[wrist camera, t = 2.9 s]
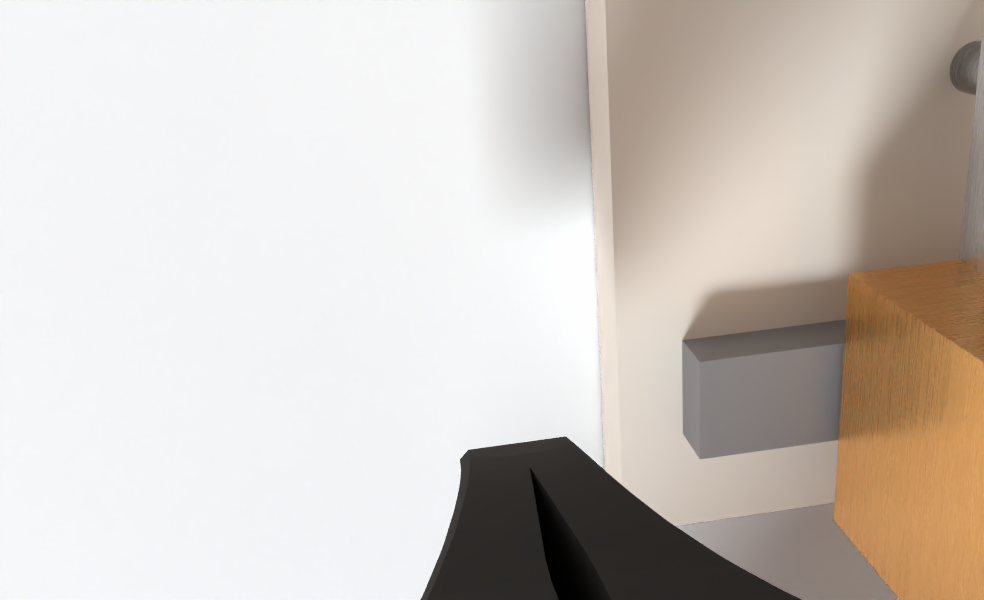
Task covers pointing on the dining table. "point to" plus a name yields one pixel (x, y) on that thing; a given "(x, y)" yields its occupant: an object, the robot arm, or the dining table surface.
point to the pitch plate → (758, 225)
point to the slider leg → (920, 403)
